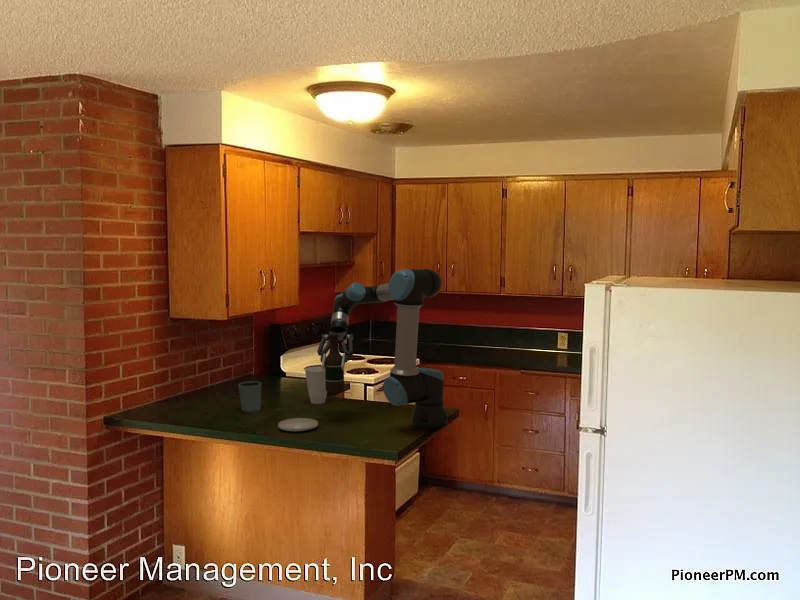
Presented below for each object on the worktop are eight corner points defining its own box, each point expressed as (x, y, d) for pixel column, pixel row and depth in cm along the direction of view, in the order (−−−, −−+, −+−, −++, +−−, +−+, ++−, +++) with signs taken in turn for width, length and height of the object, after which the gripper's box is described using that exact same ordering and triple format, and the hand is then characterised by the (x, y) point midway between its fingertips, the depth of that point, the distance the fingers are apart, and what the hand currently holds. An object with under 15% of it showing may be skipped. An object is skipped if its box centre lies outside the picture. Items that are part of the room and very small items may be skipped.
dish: (323, 430, 276) (323, 425, 276) (284, 435, 270) (283, 430, 269) (311, 421, 291) (311, 416, 291) (274, 425, 284) (273, 420, 284)
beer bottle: (348, 390, 289) (347, 333, 287) (334, 393, 284) (333, 335, 282) (335, 387, 294) (334, 332, 293) (321, 390, 289) (320, 333, 287)
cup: (313, 406, 317) (312, 372, 315) (300, 401, 326) (300, 368, 325) (335, 402, 324) (334, 369, 322) (322, 398, 333) (322, 365, 332)
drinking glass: (266, 408, 312) (266, 382, 311) (250, 413, 304) (249, 386, 303) (250, 406, 318) (250, 380, 317) (234, 410, 310) (233, 384, 309)
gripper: (363, 330, 301) (358, 373, 287) (317, 330, 303) (310, 373, 289) (361, 319, 296) (356, 363, 281) (314, 319, 298) (306, 362, 283)
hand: (332, 368), depth 285 cm, fingers closed on beer bottle, 7 cm apart
